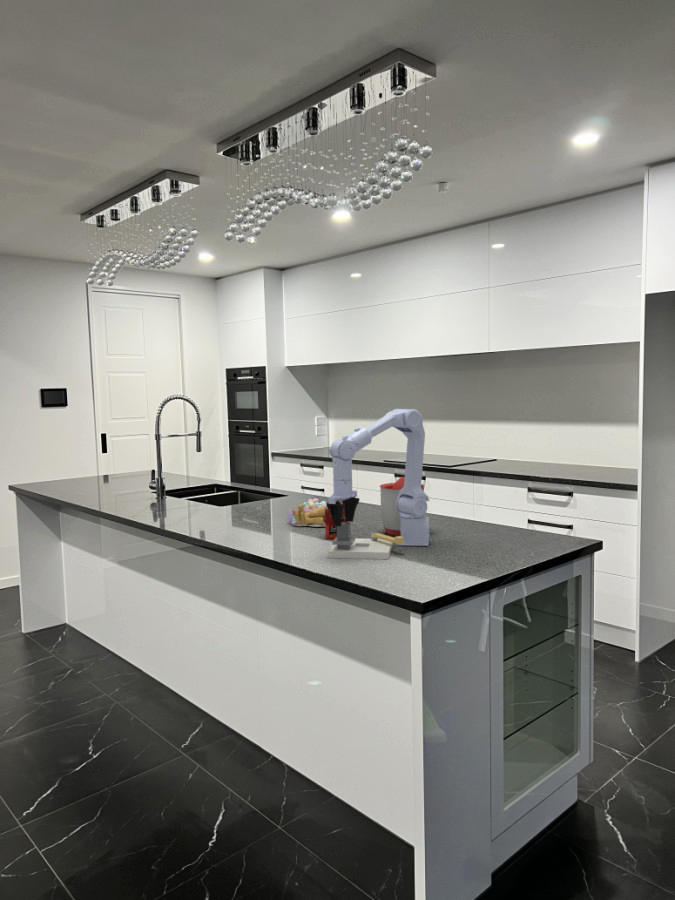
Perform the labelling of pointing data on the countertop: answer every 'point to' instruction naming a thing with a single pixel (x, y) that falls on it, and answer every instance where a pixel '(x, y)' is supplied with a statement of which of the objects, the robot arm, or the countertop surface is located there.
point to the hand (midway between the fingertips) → (343, 523)
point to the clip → (387, 538)
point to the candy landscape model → (308, 514)
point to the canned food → (331, 524)
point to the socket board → (364, 550)
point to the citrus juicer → (392, 506)
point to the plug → (344, 536)
